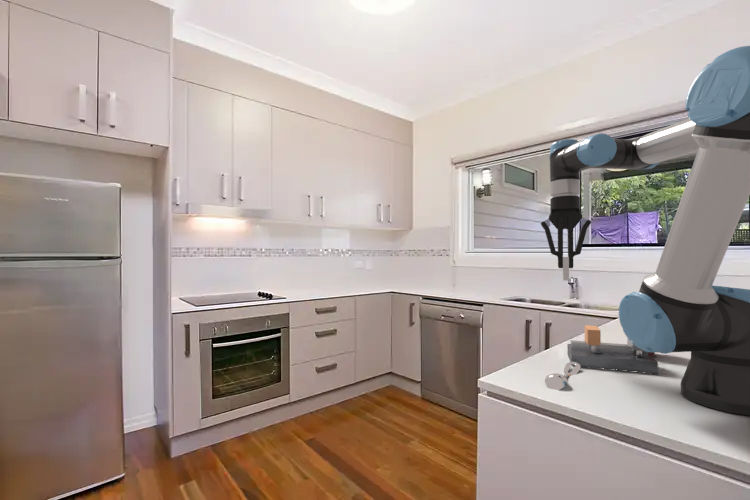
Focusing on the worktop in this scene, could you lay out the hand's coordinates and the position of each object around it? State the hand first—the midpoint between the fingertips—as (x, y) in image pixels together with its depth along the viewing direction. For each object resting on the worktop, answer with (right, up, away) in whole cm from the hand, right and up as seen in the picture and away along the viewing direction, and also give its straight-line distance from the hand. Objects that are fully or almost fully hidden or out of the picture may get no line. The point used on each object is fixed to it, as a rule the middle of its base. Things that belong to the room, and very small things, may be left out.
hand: (565, 280), depth 109 cm
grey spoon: (-8, -23, -16) cm, 29 cm away
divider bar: (+10, -19, -4) cm, 22 cm away
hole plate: (+10, -22, -4) cm, 25 cm away
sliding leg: (+6, -19, -2) cm, 20 cm away
